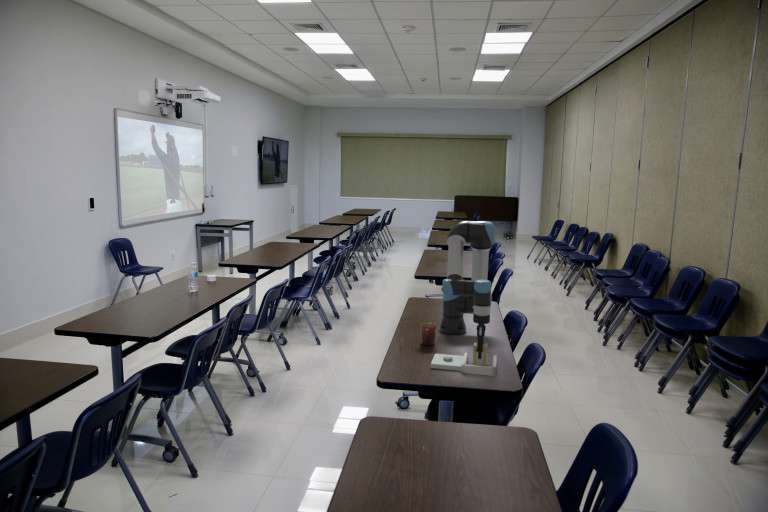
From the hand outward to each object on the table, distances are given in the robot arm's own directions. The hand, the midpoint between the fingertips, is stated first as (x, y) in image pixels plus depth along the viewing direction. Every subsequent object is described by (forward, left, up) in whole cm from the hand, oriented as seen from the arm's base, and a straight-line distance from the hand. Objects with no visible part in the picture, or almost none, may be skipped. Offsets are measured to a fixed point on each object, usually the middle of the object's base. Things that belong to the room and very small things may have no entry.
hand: (479, 362), depth 232 cm
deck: (+3, -7, -1) cm, 8 cm away
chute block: (0, 0, 0) cm, 0 cm away
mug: (-23, -28, -1) cm, 36 cm away
